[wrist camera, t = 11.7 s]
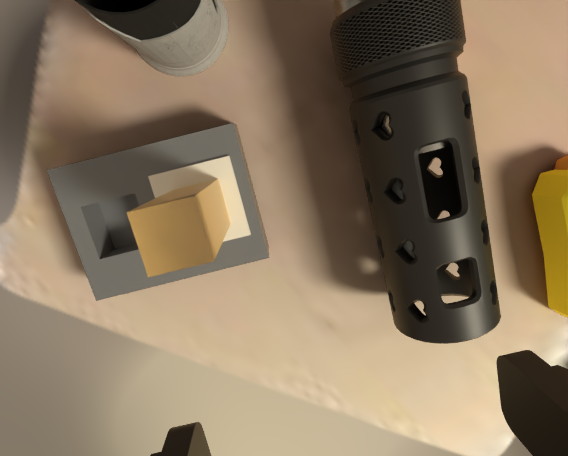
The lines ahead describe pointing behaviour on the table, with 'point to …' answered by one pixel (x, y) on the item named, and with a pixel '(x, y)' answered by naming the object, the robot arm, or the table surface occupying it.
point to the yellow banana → (554, 231)
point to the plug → (181, 227)
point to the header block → (145, 187)
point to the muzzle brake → (419, 162)
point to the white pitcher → (167, 30)
